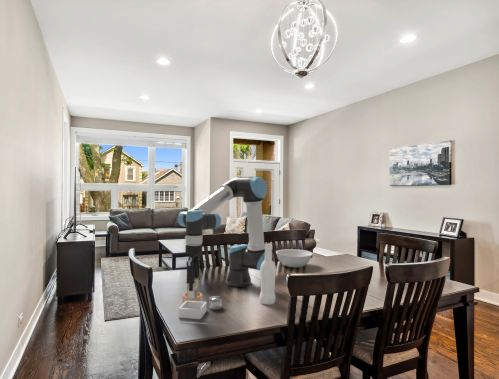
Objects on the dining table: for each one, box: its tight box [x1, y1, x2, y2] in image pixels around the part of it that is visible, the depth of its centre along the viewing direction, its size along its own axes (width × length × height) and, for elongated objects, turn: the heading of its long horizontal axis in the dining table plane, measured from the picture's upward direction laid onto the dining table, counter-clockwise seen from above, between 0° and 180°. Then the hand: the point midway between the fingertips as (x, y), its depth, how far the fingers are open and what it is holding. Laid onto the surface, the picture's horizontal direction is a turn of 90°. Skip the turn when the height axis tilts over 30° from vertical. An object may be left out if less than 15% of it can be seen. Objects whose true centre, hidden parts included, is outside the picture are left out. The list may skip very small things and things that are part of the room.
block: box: [186, 277, 200, 298], centre depth 152 cm, size 4×4×8 cm
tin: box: [208, 295, 223, 311], centre depth 161 cm, size 6×6×5 cm
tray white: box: [178, 301, 208, 320], centre depth 153 cm, size 10×10×5 cm
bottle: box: [259, 242, 277, 306], centre depth 171 cm, size 8×8×30 cm
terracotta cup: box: [181, 291, 203, 305], centre depth 165 cm, size 9×9×6 cm
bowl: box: [275, 248, 314, 269], centre depth 250 cm, size 27×27×10 cm
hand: (192, 295), depth 152 cm, fingers closed on block, 4 cm apart
